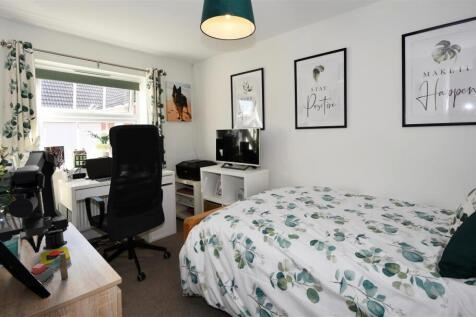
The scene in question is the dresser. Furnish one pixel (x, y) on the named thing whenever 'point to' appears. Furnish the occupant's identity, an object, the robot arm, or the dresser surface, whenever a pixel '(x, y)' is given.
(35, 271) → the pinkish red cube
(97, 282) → the dresser surface
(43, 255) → the emergency button
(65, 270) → the finish flag
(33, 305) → the dresser surface
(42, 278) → the popper housing
